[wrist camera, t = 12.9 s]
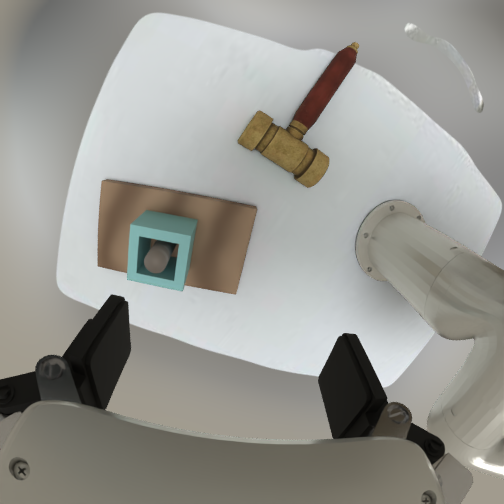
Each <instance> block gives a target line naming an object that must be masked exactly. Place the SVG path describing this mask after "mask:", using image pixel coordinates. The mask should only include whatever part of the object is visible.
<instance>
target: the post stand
mask: <svg viewBox="0 0 504 504" xmlns="http://www.w3.org/2000/svg"><path fill="white" fill-rule="evenodd" d="M146 210H149V211H155V212H160V213H165V214H171V215H176V216H181V217H186V218H192V219H197V220H198V221H197V227H196V232H195V238H194V244H193V250H192V256H191V262H190V268H189V271H188V275H187V278H186V282H185V285H187V286H192V287H197V288H203V289H208V290H213V291H219V292H224V293H230V294H236V292H237V288H238V284H239V280H240V276H241V272H242V268H243V264H244V260H245V256H246V252H247V248H248V244H249V240H250V236H251V232H252V228H253V224H254V220H255V216H256V212H257V208H256V207H255V206H251V205H246V204H241V203H237V202H232V201H227V200H222V199H217V198H212V197H207V196H202V195H197V194H191V193H186V192H181V191H175V190H170V189H164V188H158V187H152V186H146V185H140V184H134V183H128V182H121V181H115V180H108V179H106V180H103V181H102V184H101V194H100V206H99V223H98V266H99V267H103V268H107V269H112V270H116V271H120V272H125V273H127V269H128V249H129V235H130V224H131V223H132V222H133V221H135V220H136V219H137V218H138V217H139V216H140V215H141V214H142V213H144V212H145V211H146ZM178 248H179V244H177V243H172V242H167V241H161V240H156V239H151V247H150V250H149V252H148V253H147V255H146V256H145V259H144V265H145V267H146V268H147V270H148V271H150V272H152V273H161V272H162V271H163V270H164V269H165V267H166V265H167V263H168V261H169V259H170V257H176V258H177V256H178Z"/></svg>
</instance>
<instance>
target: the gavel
mask: <svg viewBox="0 0 504 504" xmlns="http://www.w3.org/2000/svg"><path fill="white" fill-rule="evenodd" d="M358 47H359V44H358V43H355V42H354V43H352V44H351V45H350V46H347V47H346V48H344V49H343V50H341V51H339V52H338V53H337V55H336V56H335V57H334V59H333V60H332V61H331V63H330V64H329V66H328V67H327V68H326V70H325V71H324V73H323V74H322V75H321V77H320V78H319V80H318V81H317V82H316V84H315V85H314V87H313V88H312V90H311V91H310V92H309V94H308V95H307V97H306V98H305V100H304V101H303V103H302V104H301V105H300V107H299V108H298V110H297V111H296V113H295V116H294V118H293V120H292V122H291V123H290V125H289V126H290V127H287V129H286V130H285V129H283V128H282V127H280V126H279V127H278V126H276V125H275V124H273V123H272V121H273V118H271V117H270V116H268V115H266V114H265V113H263V112H262V111H257V113H256V114H255V115H254V117H253V118H252V120H251V121H250V123H249V124H248V126H247V127H246V129H245V130H244V132H243V133H242V135H241V136H240V138H239V139H238V143H239V144H240V145H242V146H244V147H245V148H247V149H249V150H250V151H252V150H253V149H254V148H255V149H256V150H258V151H260V152H261V154H262V155H263V156H265V157H267V158H268V159H270V160H271V161H273V162H274V163H276V164H277V165H279V166H281V167H282V168H284V169H285V170H287V171H288V172H292V173H293V174H295V175H294V179H295V180H297V181H298V182H300V183H301V184H303V185H304V186H306V187H307V188H309V187H312V186H314V185H315V184H316V183H317V182H318V181H319V180H320V179H321V178H322V177H323V175H324V174H325V172H326V170H327V168H328V166H329V157H328V156H326V155H325V154H324V153H322V152H321V151H320V150H318V149H317V148H315V149H313V150H312V149H310V148H309V147H308V145H307V144H305V143H304V142H303V141H301V140H302V139H303V135H305V134H306V132H307V131H308V129H309V128H310V127H311V126H312V125H313V124H314V123H315V122H316V120H317V119H318V117H319V116H320V114H321V113H322V111H323V110H324V108H325V107H326V105H327V104H328V102H329V101H330V99H331V98H332V96H333V95H334V93H335V92H336V90H337V89H338V87H339V86H340V85H341V83H342V82H343V80H344V79H345V77H346V76H347V74H348V73H349V71H350V70H351V68H352V67H353V65H354V64H355V62H356V56H357V53H358V51H357V49H358Z"/></svg>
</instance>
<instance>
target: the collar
mask: <svg viewBox="0 0 504 504" xmlns="http://www.w3.org/2000/svg"><path fill="white" fill-rule="evenodd" d="M197 221H198V220H197V219H192V218H186V217H181V216H176V215H171V214H165V213H160V212H155V211H149V210H146V211H145V212H144V213H142V214H141V215H140V216H139V217H138V218H137V219H136V220H135V221H133V222H132V223H131V224H130V235H129V249H128V269H127V280H131V281H135V282H140V283H144V284H149V285H154V286H159V287H163V288H168V289H173V290H178V291H183V289H184V285H185V282H186V278H187V275H188V271H189V268H190V262H191V256H192V250H193V244H194V238H195V232H196V227H197ZM151 239H156V240H161V241H167V242H172V243H177V244H179V248H178V256H177V258H176V257H170V259H169V261H168V263H167V265H166V267H165V269H164V270H163V271H162V272H161V273H152V272H150V271H148V270H147V268H146V267H145V265H144V259H145V256H146V255H147V253H148V252H149V250H150V247H151Z"/></svg>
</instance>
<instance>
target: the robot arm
mask: <svg viewBox="0 0 504 504" xmlns="http://www.w3.org/2000/svg"><path fill="white" fill-rule="evenodd" d="M363 234H364V235H363ZM356 256H357V260H358V262H359V265H360V266H361V268H362V270H363V271H364V272H365V273H366V274H367V275H368V276H370V277H371V278H373V279H375V280H378V281H389V282H390V284H391V285H392V286H393V287H394V288H395V289H396V290H397V291H398V292H399V293H400V294H401V295H402V296H403V297H404V298H405V299H406V300H407V301H408V302H409V303H410V305H411V306H412V307H413V308H414V309H415V310H416V311H417V312H418V313H419V314H420V315H421V317H422V318H423V319H424V320H425V321H426V322H427V323H428V324H429V325H430V326H431V328H432V329H433V330H434V331H435V332H436V333H437V334H439V335H440V336H442V337H444V338H446V339H449V340H466V339H472V338H473V339H474V346H473V349H472V350H471V352H470V354H469V356H468V357H467V359H466V361H465V363H464V364H463V366H462V367H461V368H460V370H459V371H458V373H457V374H456V375H455V377H454V378H453V379H452V381H451V382H450V383H449V385H448V386H447V387H446V389H445V390H444V391H443V393H442V394H441V395H440V397H439V398H438V399H437V401H436V402H435V404H434V405H433V407H432V409H431V411H430V413H429V416H428V420H427V431H426V430H424V429H422V428H420V427H419V426H417V425H415V424H413V423H411V422H412V414H411V412H410V410H409V409H408V408H407V407H406V406H405V405H403V404H401V403H398V402H391V403H388V402H387V396H386V394H385V392H384V390H383V388H382V385H381V383H380V381H379V379H378V377H377V375H376V373H375V371H374V369H373V367H372V365H371V363H370V361H369V359H368V356H367V354H366V352H365V350H364V348H363V346H362V344H361V343H360V341H359V339H358V337H357V335H356V334H349V333H344V334H342V336H339V337H338V339H337V341H336V343H335V345H334V347H333V349H332V351H331V353H330V356H329V358H328V360H327V362H326V364H325V366H324V367H323V369H322V371H321V373H320V375H319V379H318V383H319V386H320V390H321V394H322V398H323V402H324V405H325V409H326V413H327V417H328V421H329V424H330V429H331V433H332V437H333V439H324V440H271V439H253V438H240V437H230V436H221V435H214V434H206V433H200V432H194V431H187V430H182V429H177V428H172V427H167V426H163V425H158V424H154V423H150V422H146V421H142V420H138V419H134V418H130V417H126V416H122V415H119V414H116V413H112V412H109V411H106V410H105V409H106V407H107V405H108V403H109V400H110V398H111V395H112V393H113V391H114V389H115V386H116V384H117V382H118V379H119V377H120V375H121V373H122V370H123V368H124V366H125V364H126V361H127V359H128V357H129V355H130V351H131V342H130V328H129V309H128V302H127V301H125V299H124V297H121V296H117V295H113V294H112V295H111V296H110V297H109V298H108V299H107V301H106V302H105V303H104V305H103V306H102V307H101V309H100V310H99V311H98V313H97V314H96V316H95V317H94V318H93V319H89V320H88V321H87V323H86V324H85V325H84V326H83V328H82V329H81V330H80V332H79V333H78V335H77V336H76V337H75V339H74V340H73V342H72V343H71V345H70V346H69V348H68V349H67V350H66V352H65V353H64V355H63V356H62V357H61V356H57V355H47V356H44V357H43V358H41V359H40V360H39V361H38V362H37V364H36V367H35V371H34V372H30V373H26V374H22V375H18V376H13V377H9V378H5V379H1V380H0V504H461V502H462V501H463V499H464V498H465V496H466V494H467V493H468V491H469V489H470V488H471V486H472V483H473V476H472V474H471V472H470V471H469V470H468V469H466V468H465V467H467V468H469V469H472V470H475V471H478V472H482V473H484V474H487V475H490V476H494V477H497V478H501V479H504V270H502V269H500V268H499V267H497V266H495V265H494V264H492V263H491V262H489V261H488V260H486V259H484V258H483V257H481V256H480V255H478V254H477V253H475V252H473V251H471V250H470V249H468V248H467V247H465V246H463V245H462V244H460V243H458V242H457V241H455V240H453V239H452V238H450V237H448V236H447V235H445V234H443V233H441V232H440V231H438V230H436V229H434V228H432V227H431V226H429V225H427V224H425V221H424V218H423V216H422V214H421V213H420V211H419V210H418V209H417V208H416V207H415V206H413V205H411V204H409V203H407V202H404V201H400V200H393V201H388V202H385V203H383V204H381V205H379V206H378V207H376V208H375V209H374V210H373V211H372V212H370V214H369V215H368V216H367V217H366V218H365V220H364V222H363V223H362V225H361V227H360V230H359V232H358V236H357V240H356ZM102 409H103V410H102Z"/></svg>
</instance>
